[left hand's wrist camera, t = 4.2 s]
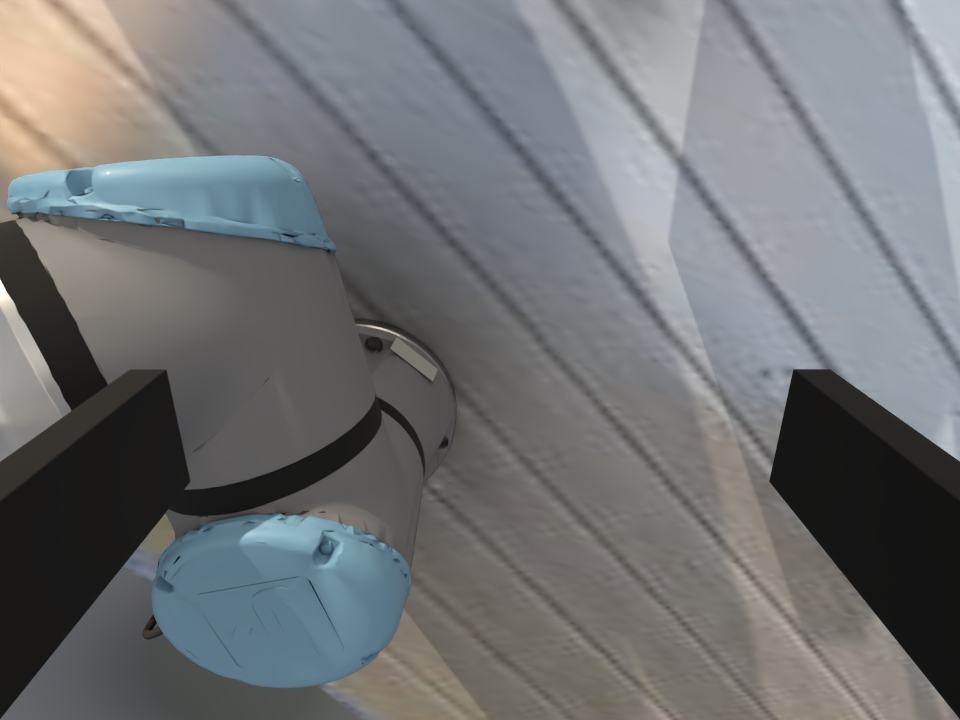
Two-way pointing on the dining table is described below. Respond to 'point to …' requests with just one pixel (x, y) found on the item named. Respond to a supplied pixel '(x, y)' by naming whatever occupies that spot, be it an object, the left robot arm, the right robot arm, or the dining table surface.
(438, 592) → the dining table surface
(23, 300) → the left robot arm
